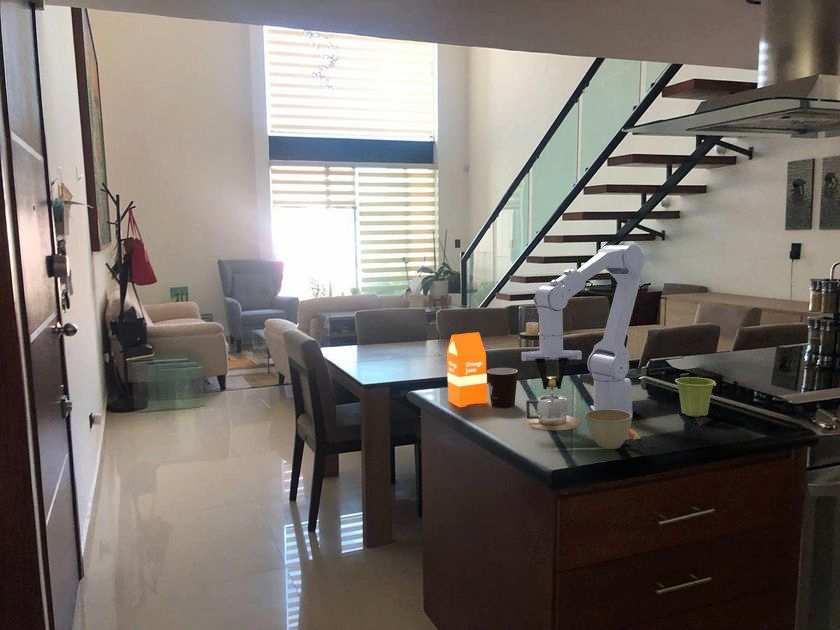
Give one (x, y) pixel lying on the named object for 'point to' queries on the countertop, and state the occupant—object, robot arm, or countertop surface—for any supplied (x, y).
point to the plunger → (552, 383)
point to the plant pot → (695, 395)
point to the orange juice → (466, 370)
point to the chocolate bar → (633, 434)
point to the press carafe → (549, 410)
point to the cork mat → (570, 424)
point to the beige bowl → (609, 427)
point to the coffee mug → (502, 387)
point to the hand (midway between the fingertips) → (551, 388)
